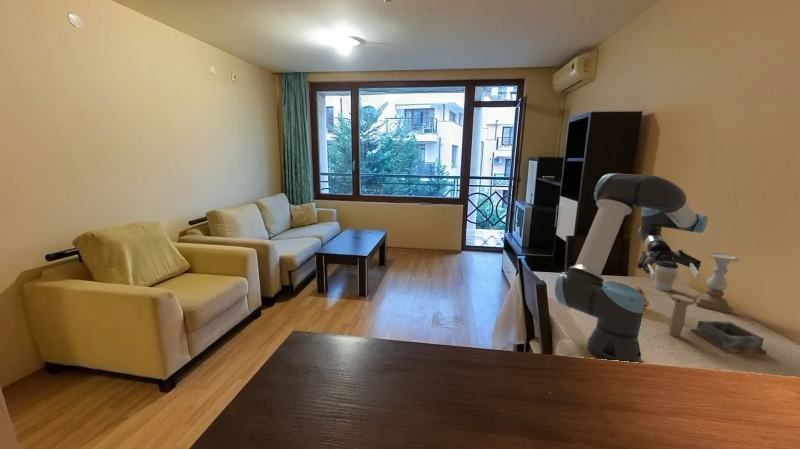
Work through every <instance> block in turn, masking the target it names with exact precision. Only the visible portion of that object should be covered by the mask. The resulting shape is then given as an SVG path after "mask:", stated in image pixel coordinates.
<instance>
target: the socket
mask: <svg viewBox="0 0 800 449" xmlns="http://www.w3.org/2000/svg"><path fill="white" fill-rule="evenodd" d="M690 333H692V334H694V335H696V336H698V337H699V338H701V339H703V340H704V341H706V342H707V343H709V344H711V345H712V346H715V347H716V348H718V349H719V350H721V351H722V352H724V353H730V354H732V353H734V354H735V353H737V354H767V350H766V349H765V348H762V347H763V346H762V345H763V342H764V340H765V339H764V338H763V337H761V336H759V335H758V334H755V333H753V332H752V331H749V330H747V329H745V328H743V327H741V326H739V325H737V324H735V323H733V322H732V321H721V320H720V321H719V320H717V321H715V320H698V321H697V327H696V328H691V329H690Z"/></svg>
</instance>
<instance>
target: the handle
mask: <svg viewBox="0 0 800 449" xmlns="http://www.w3.org/2000/svg"><path fill="white" fill-rule="evenodd" d="M670 299H671V300H672V301H673V302H674V307H673V310H672V313H671V316H670V321H669V330H668V334H670V335H671V336H673V337H677V338H679V337H680V336H681V333H682V331H683V329H684V326H685V321H686V319H685V318H686V313H687V312H686V311H687V308H688V306H692V305H693V304H694V303H695V300H694V299H692V298H691V297H689V296H688V297H687V296H684V295H681V294H676V293H673V294H671V296H670Z"/></svg>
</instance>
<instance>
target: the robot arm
mask: <svg viewBox="0 0 800 449" xmlns="http://www.w3.org/2000/svg"><path fill="white" fill-rule="evenodd" d="M593 199H594V200H595V201H596V202H595V204H596V206H597V208H598V209H597V213H596V214H595V217H594V218H593V221H592V224H591V227H590V228H589V231H588V234H587V236H586V239H585V241H584V243H583V245H582V247H581V250H580V253H579V255H578V257H577V260H576V262H575V264H574V265H572V266H569V268H568V270H567V271H566V272H565V271H562V272H560V274H558V276H557V278H556V280H555V285H554V295H555V299H556V300H557V302H558V303H559V304H561V305H563V306H566V307H567V308H569V309H572V310H575V311H579V312H580V313H584V314H586V315H589V316H592V317H594V318H596V319H597V320H596V326H595V328H594V329H593V331H592V333H591V334H590V336H589V337H588V338H587V345H586V348H587V349H588V351H589V352H590V354H592V355H593V356H595V357H596V358H598V359H600V360H601V359H607V360H619V361H629V362H640V363H641V359H642V352H641V347H640V343H639V333H640V330H641V323H642V320H643V314H644V312H645V300H646V299H645V296H644V295H643V293H642V292H640V291H639V290H638V289H636V288H635V287H632V286H630V285H628V284H625V283H621V282H616V281H613V280H612V281H605V282H604V278H603V275H602V273H603V269H604V268H605V265H606V263H607V260H608V257H609V255H610V253H611V250H612V248H613V246H614V243H615V240H616V238H617V235H618V233H619V230H620V228H621V226H622V223H623V221H624V218H625V217H626V216H627V215H630V214H631V213H632V212H633V209H634V208H639V209H641V214H640V216H641V219H640V227H639V228H638V230H637V231H638V237H639V239H640V240H641V242H642V243H643V245H644V247H645V248H646V250H647V252H646V251H641V256H640V258H639V260H638V262H637V269H639V270H641V269H642V270H643V271H644V272H645V273H646V274H648V275H649V276H650V279H651V280H654V281H655V270H654V269H653V268H652V266H653V265H654V264H656V263H657V261H671V262H676V264H679V265H683V266H685V267H688V268H689V270H690V272H691V274H692V275H693V276H694V278H695V279H696V280H700V274H701V273H700V271H699V269H700V268H701V263H702V262H701V260H699V259H697V258H695V257H693V256H692V255H689V254H687V253H686V252H684V251H683V250H682V249H679V250H678V251H673V250H672V248H671V247H670V246H669V244H668V242H667V241H666V240H665V238H664V237H663V235H662V230H663V228H665V229H671V230H672V229H673V230H678V231H683V232H684V231H685V232H689V233H690V232H691V233H699V234H701V233H703V232H705V230H706V229H707V226H708V222H709V221H708V220H709V219H708V216H707V215H706V214H702V213H695V211H694V210H693V209H692V207H691V206H690V204H689V203H688V202H687V195H686V192H684V190H683V189H682V188H681V187H680V186H678V185H677V184H676V183H674V182H673V181H670V180H669V179H665V178H664V177H662V176H658V175H651V174H650V175H646V174H632V173H630V174H629V173H621V172H615V173H606V174H604V175H603V176H602V177H601V178H600V179H599V180H598V182H597V183H596V186H595V188H594V192H593ZM648 258H649V259H648ZM646 259H647V260H646Z"/></svg>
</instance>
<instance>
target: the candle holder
mask: <svg viewBox="0 0 800 449" xmlns="http://www.w3.org/2000/svg"><path fill="white" fill-rule="evenodd" d="M707 256H708V257H709V258H711V259H714V262H715V266H714V267H712V270H713V274H712V276H710V277H709V278H707V280H705V284H706V286H707V288H706V289H705V292H706V293H699V294H698V295H696V296H695V300H694V302H695V306H697V307H699V308H703V309H708V310H711V311H715V312H716V311H717V312H720V313H725V314H730V313H731V312H730V311H731V308H730V306H729V303H728V301H727V299H726V298H724V295H725V292H724V291H725V290H727V289H728V287H729V285H728V282H727V280H726V278H725V275H726V274H727V273H729V269H728V268H727V267H728V266H729V264H731V263H732V262H734V263H735V262H739V261H740V258H739V257H737V256H734V255H731V254H725V253H717V252H709V253H708V254H707Z"/></svg>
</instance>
